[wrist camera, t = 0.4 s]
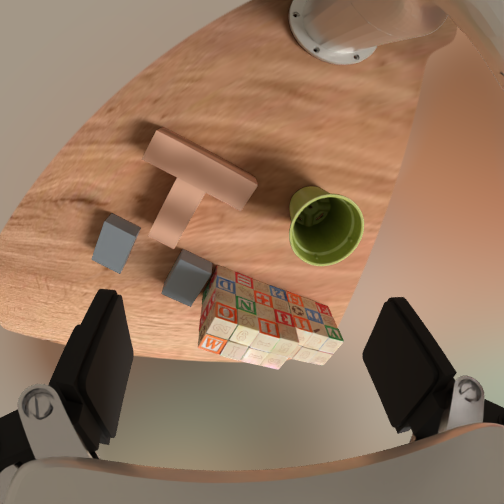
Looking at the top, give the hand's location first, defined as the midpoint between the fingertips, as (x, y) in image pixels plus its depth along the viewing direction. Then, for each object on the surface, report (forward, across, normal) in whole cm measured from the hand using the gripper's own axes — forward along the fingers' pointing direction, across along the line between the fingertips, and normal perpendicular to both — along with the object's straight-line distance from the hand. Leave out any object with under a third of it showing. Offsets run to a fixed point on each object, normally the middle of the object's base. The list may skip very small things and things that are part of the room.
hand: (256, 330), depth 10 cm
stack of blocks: (+32, -8, +23) cm, 41 cm away
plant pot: (+32, -12, +6) cm, 35 cm away
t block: (+32, +6, +5) cm, 33 cm away
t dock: (+32, +11, +16) cm, 37 cm away
